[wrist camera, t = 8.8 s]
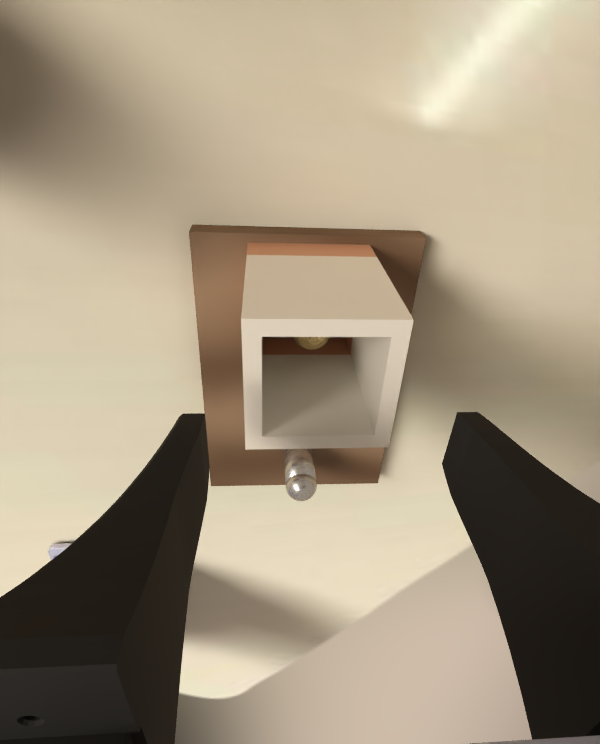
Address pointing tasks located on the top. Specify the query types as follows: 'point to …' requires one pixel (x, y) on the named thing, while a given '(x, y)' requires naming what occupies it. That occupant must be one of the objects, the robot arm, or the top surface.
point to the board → (224, 339)
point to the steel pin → (299, 473)
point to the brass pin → (311, 342)
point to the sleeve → (330, 362)
